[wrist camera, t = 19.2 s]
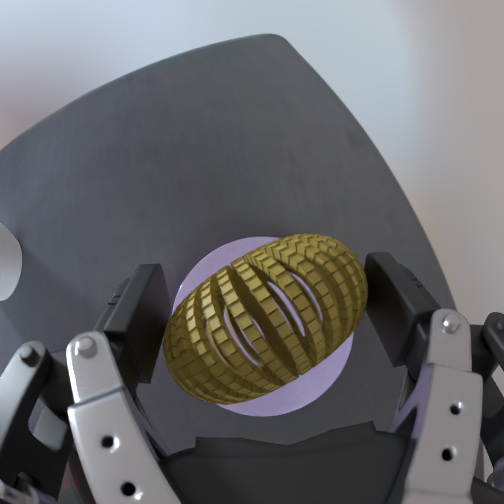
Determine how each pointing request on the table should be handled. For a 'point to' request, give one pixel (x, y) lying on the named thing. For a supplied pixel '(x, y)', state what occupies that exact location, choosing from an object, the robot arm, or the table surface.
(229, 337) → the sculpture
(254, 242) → the saucer
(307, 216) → the table surface
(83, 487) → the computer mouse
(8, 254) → the cup
